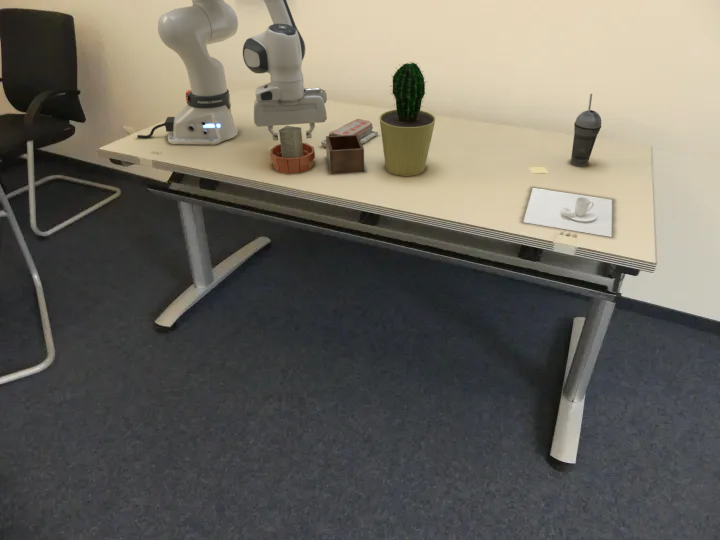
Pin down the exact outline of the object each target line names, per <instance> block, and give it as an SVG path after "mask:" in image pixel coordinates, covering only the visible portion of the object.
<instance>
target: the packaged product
mask: <svg viewBox="0 0 720 540" xmlns="http://www.w3.org/2000/svg"><path fill="white" fill-rule="evenodd" d="M356 134H358V136H359V138H360V141H361V143H362V145H364V144H366V143H368V141H369V140H370V139H372V138H373V137H376V136H378V135H379V132H378V131H376V130H375V131H374V130H373V123H372V122H371V120H366V119H361V118H356V119H354V120H352V121H350V122H347V123H346V124H343V125H342V126H340V127H339V128H337V129H334V130H332V131H330V132H329V133H328V136H339V135H356ZM320 143H321V147H324V148H326V139H324V140H322V141H321V142H320Z"/></svg>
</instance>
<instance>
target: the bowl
mask: <svg viewBox="0 0 720 540" xmlns="http://www.w3.org/2000/svg"><path fill="white" fill-rule="evenodd" d="M302 144H303V155H304V156H303V157H299V158H282V151H281V143H279V144H276V145H273V147H271V148H270V149H269V156H270V162H271V163H272V166H273V169H274V170H275V171H277V172H278V173H283V174H300V173H304V172H307V171H309V170H310V169H312V168H313V167H314V160H315V159H316V152H315V147H314V146H313V145H312V144H309V143H306V142H302Z"/></svg>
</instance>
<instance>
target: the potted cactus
mask: <svg viewBox="0 0 720 540" xmlns="http://www.w3.org/2000/svg"><path fill="white" fill-rule="evenodd" d="M418 64H419V62H414V61H412V62H411V61H409V62H406V63H401V65H400V66H399V67H398V68H397V66H395V69H396V71H395V70H394V73H393V75H392V79H391V80H392V85H390V87H391V88H392V89H390V90H389V92H390V91H392V92H391V95H393V99H394V102H395V104H393V106H394V107H396V108H395V109H391V110H387V111H385V112H383V113H381V114H380V115H379V116H378V117H379V125H380V132H381V133H380V135H381V140H382V148H383V149H382V150H383V156H384V157H383V158H384V165H385V166H384V167H385V169H386V171H387V172H389V173H390V174H392V175H396V176H401V177H410V176H411V177H413V176H416V175H417V176H418V175H420V174H422V173H423V172H424V171H425V168H426V165H427V159H428V156H429V151H430V146H431V142H432V137H433V133H434V129H435V124H436V123H435V122H436V116H435V115H434V114H432V113H430V112H429V111H425V110H422V108H423V105H422V102H423V100H425V99H426V97H425V94H426V84H427V82H428V80H427V81H425V76H424V73H423V72H424V71H422V69H421V67H420V66H419V65H418Z"/></svg>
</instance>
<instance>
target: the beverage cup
mask: <svg viewBox="0 0 720 540" xmlns="http://www.w3.org/2000/svg"><path fill="white" fill-rule="evenodd" d="M592 99H593V93H590V94H589V101H588V109H587V110H584V111H582V112H580V113H579V115H578V116H577V117H576V119H575V121H574V124H573V125H574V126H573V127H574V129H573V130H574V131H573V132H574V133H573V142H572V149H571V155H570V156H571V157H570V158H571V159H570V164H571V165H573V166H575V167H586V166H587V165H588V163H589V161H590V158H591V154H592V152H593V149H594V146H595V143H596V140H597V138H598V135H599V133H600V131H601V128H602V118H601V116H600V114H599V113H598V112H597V111H596V110H593V109H591V107H592Z"/></svg>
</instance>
